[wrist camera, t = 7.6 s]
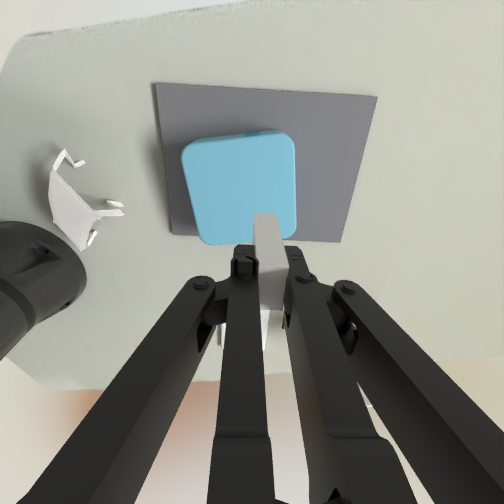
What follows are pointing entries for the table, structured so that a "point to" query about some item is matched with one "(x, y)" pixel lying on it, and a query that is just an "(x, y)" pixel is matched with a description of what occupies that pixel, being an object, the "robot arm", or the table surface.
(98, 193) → the table surface
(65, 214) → the origami figure
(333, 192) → the mat
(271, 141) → the data package
